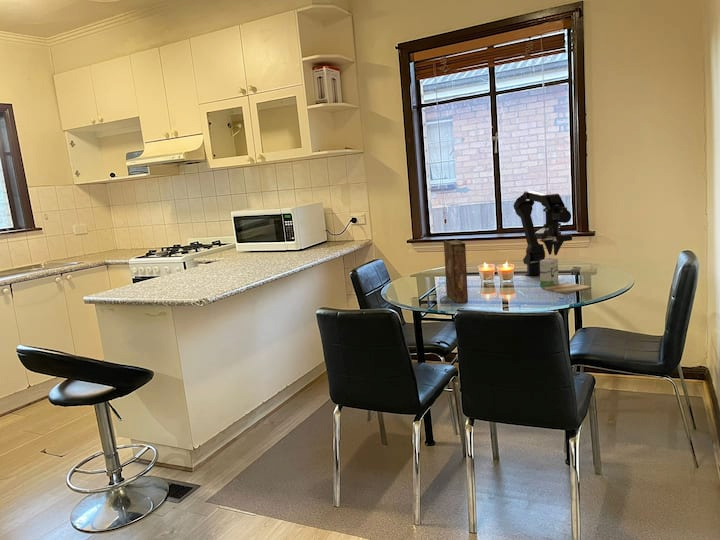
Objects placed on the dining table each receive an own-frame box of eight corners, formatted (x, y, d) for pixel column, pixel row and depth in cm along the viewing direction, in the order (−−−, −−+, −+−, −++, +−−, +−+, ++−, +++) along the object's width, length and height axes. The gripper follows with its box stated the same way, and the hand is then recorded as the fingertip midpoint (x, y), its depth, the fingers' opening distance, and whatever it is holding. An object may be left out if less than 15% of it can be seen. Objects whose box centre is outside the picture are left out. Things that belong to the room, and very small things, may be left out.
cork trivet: (542, 288, 239) (542, 287, 239) (567, 283, 245) (567, 282, 245) (564, 293, 228) (564, 292, 227) (590, 288, 234) (590, 286, 233)
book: (468, 302, 227) (466, 243, 222) (456, 303, 226) (453, 244, 222) (458, 294, 243) (455, 239, 238) (446, 295, 242) (443, 240, 238)
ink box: (550, 287, 241) (549, 261, 239) (539, 286, 245) (539, 260, 242) (558, 283, 247) (558, 258, 245) (548, 282, 250) (548, 257, 248)
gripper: (524, 222, 253) (525, 255, 256) (553, 224, 236) (554, 259, 239) (542, 219, 257) (543, 252, 260) (572, 221, 241) (573, 256, 243)
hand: (552, 254), depth 250 cm, fingers open, 3 cm apart
